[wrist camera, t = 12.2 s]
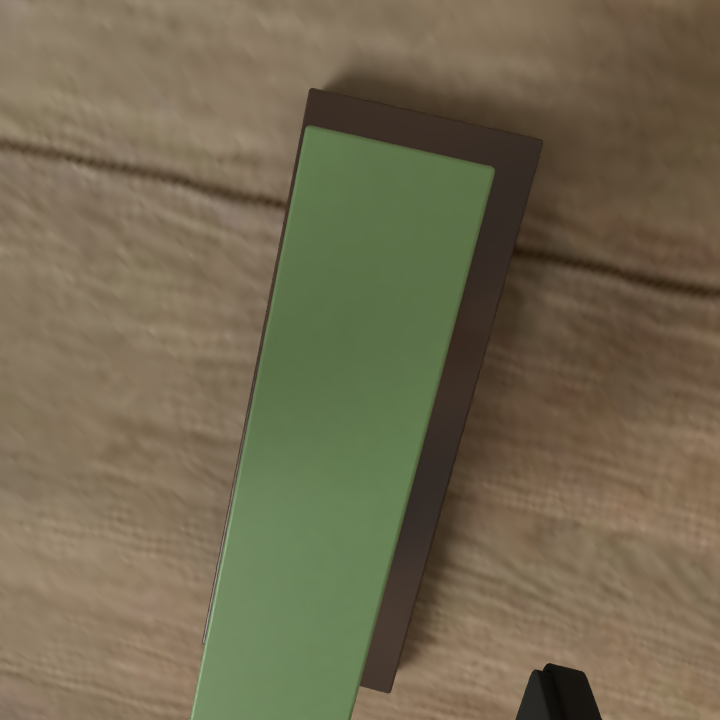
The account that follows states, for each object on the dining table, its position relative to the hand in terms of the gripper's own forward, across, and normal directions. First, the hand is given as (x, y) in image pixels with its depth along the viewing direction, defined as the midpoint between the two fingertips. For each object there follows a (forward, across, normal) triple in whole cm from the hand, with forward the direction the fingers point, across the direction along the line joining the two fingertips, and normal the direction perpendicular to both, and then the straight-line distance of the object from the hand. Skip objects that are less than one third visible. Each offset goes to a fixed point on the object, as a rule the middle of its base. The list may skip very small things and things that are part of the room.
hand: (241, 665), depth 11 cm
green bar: (+7, -1, 0) cm, 7 cm away
